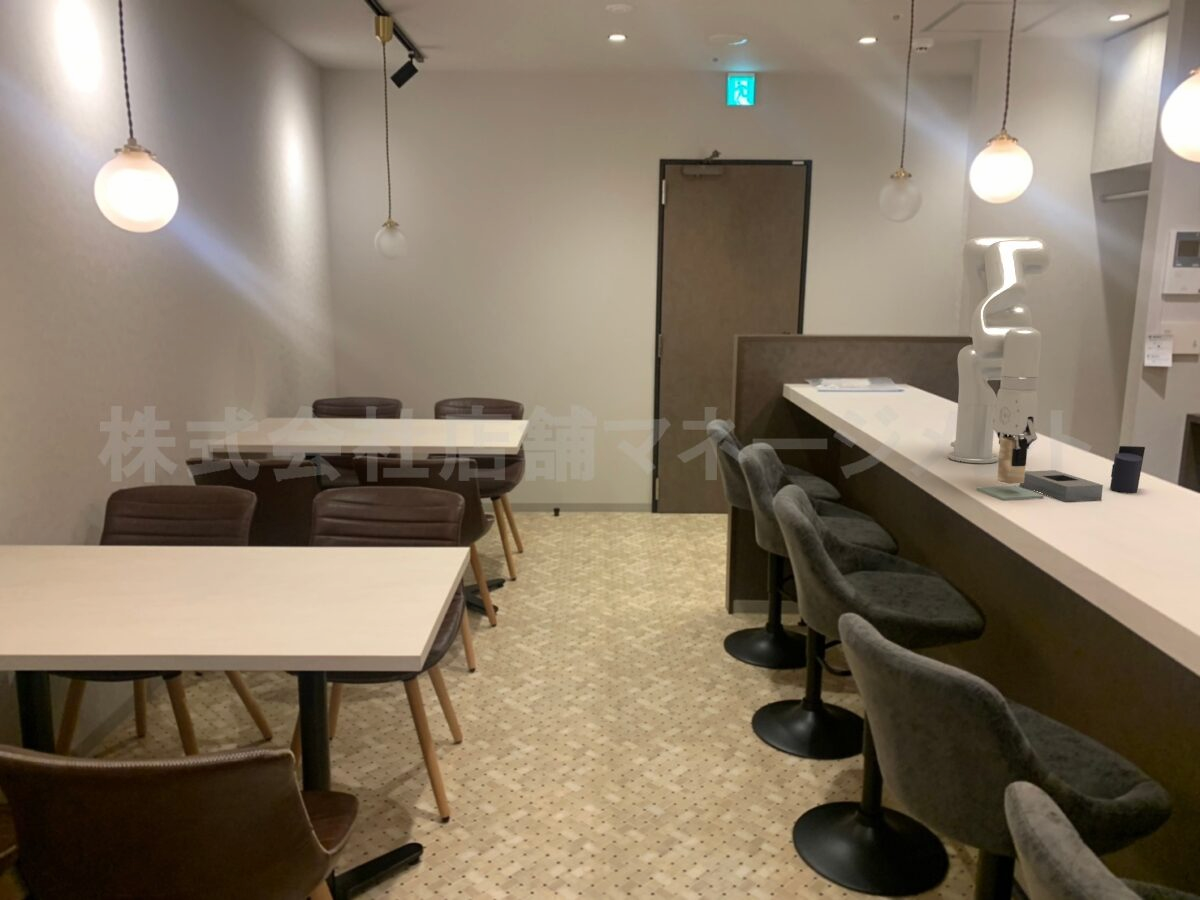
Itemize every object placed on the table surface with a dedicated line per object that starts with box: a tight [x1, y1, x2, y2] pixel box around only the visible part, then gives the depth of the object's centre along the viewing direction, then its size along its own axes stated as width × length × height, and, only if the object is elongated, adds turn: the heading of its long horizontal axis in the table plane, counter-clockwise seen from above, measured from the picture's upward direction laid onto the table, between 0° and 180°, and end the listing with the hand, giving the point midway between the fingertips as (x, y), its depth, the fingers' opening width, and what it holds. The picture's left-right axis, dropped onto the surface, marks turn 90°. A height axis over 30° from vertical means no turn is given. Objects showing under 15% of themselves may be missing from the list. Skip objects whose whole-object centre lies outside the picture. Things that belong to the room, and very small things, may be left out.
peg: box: [997, 436, 1027, 485], centre depth 200 cm, size 4×4×10 cm
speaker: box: [1109, 445, 1146, 494], centre depth 204 cm, size 8×6×10 cm
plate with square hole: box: [1019, 469, 1104, 503], centre depth 202 cm, size 16×9×4 cm, turn 10°
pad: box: [976, 485, 1044, 501], centre depth 201 cm, size 10×10×1 cm
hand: (1012, 463), depth 200 cm, fingers closed on peg, 4 cm apart
